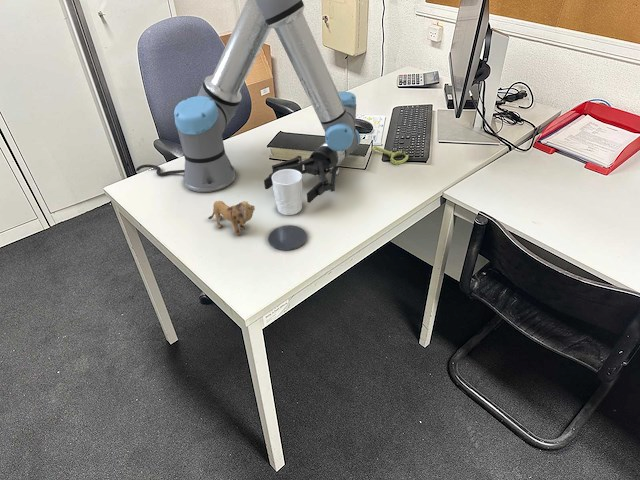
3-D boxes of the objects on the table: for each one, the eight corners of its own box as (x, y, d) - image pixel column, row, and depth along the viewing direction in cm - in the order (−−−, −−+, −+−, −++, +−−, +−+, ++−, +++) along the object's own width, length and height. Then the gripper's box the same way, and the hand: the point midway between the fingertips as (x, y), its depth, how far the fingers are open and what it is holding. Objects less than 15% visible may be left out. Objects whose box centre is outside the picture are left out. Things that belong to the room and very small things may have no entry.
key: (372, 150, 141) (372, 144, 140) (409, 155, 138) (410, 149, 137) (366, 160, 136) (367, 154, 135) (405, 166, 133) (406, 160, 131)
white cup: (300, 218, 113) (297, 185, 107) (271, 215, 114) (267, 183, 108) (306, 201, 119) (305, 170, 113) (279, 199, 120) (276, 167, 114)
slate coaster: (260, 242, 105) (260, 241, 105) (283, 222, 112) (283, 221, 111) (292, 255, 101) (292, 254, 101) (314, 233, 107) (314, 232, 107)
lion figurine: (260, 228, 110) (256, 198, 104) (249, 239, 106) (244, 210, 101) (214, 214, 115) (207, 186, 109) (202, 225, 111) (194, 196, 106)
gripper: (364, 178, 123) (327, 216, 109) (293, 159, 134) (250, 191, 120) (365, 155, 119) (327, 191, 105) (291, 136, 129) (247, 167, 115)
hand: (286, 191), depth 112 cm, fingers open, 13 cm apart
